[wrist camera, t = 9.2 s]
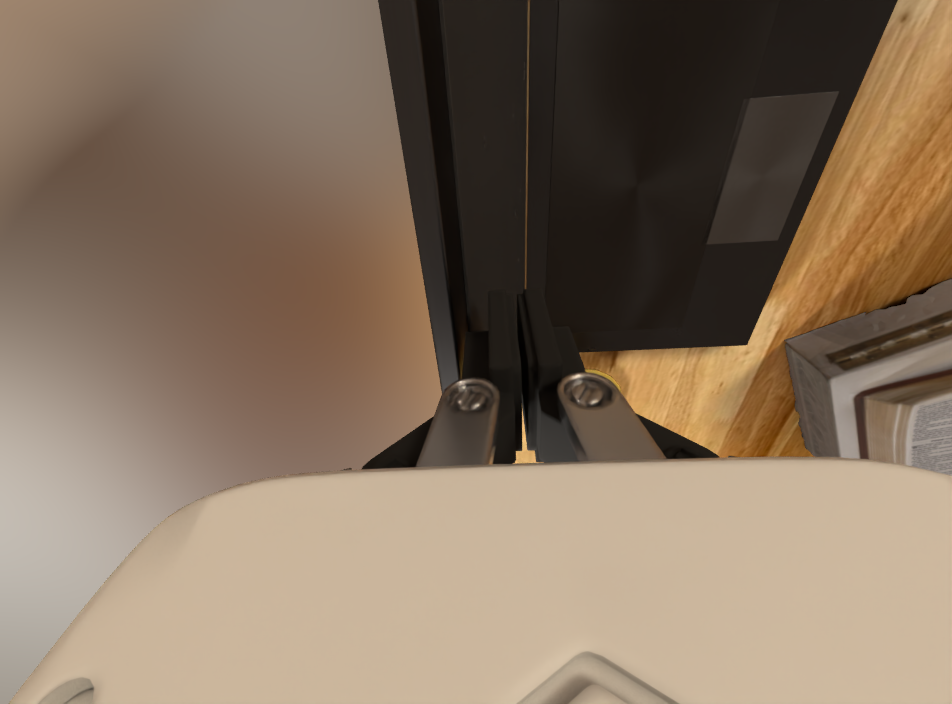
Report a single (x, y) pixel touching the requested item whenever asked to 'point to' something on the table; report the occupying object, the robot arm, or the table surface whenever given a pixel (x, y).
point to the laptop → (679, 156)
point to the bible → (879, 384)
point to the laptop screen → (462, 154)
